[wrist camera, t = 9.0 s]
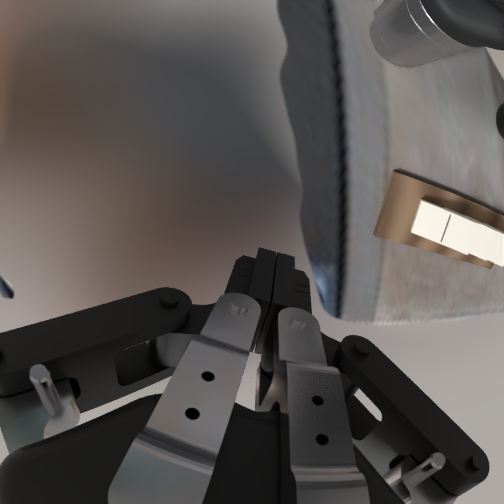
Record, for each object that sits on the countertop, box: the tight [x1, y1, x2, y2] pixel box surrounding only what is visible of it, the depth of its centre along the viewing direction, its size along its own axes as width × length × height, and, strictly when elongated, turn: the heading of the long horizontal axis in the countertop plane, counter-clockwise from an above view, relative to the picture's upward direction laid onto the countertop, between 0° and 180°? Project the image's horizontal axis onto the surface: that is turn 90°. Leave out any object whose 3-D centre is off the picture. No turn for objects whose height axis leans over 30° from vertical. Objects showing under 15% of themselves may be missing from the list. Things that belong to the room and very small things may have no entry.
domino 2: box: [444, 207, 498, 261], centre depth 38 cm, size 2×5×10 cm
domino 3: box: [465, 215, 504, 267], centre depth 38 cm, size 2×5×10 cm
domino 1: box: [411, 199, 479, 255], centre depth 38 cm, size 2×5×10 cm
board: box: [373, 171, 504, 269], centre depth 40 cm, size 26×10×1 cm, turn 79°
